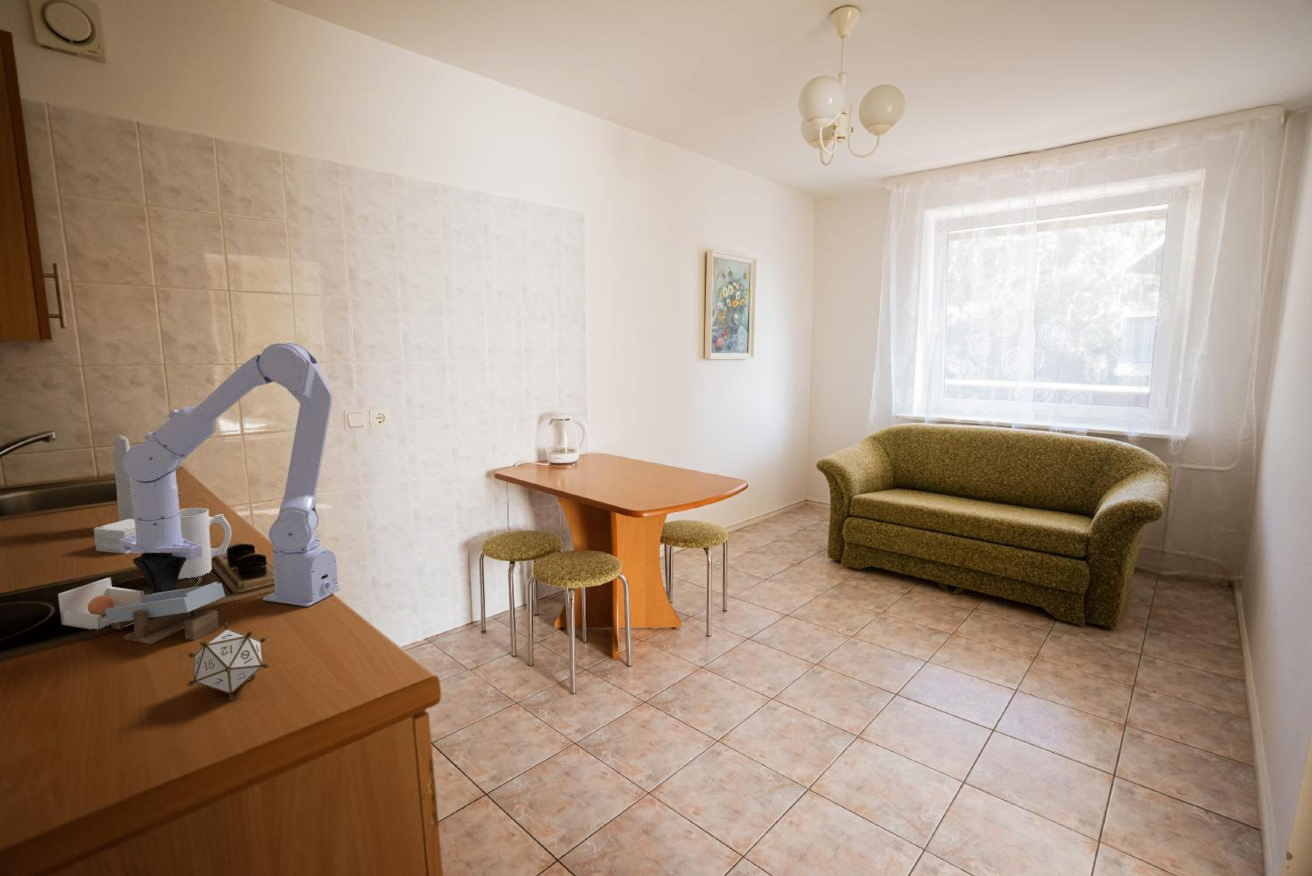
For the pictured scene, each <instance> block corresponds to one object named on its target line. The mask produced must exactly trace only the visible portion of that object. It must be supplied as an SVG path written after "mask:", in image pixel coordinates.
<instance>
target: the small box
mask: <svg viewBox="0 0 1312 876" xmlns="http://www.w3.org/2000/svg"><path fill="white" fill-rule="evenodd" d="M93 532H94V533H93V535H94V542H95V551H96V552H107V553H115V554H125V555H126V554H130V553H131V550H127V551H120V544H119V539H123V538H126V537H130V536H136V530H135V520H134V519H127V520H123V521H115V522H112V523H108V524H105V525H101V526H96V527H94V528H93Z"/></svg>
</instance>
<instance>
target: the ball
mask: <svg viewBox="0 0 1312 876" xmlns="http://www.w3.org/2000/svg"><path fill="white" fill-rule="evenodd" d="M114 606H115V602H114V600H113V599H112V598H111V597H109V596H105V595H102V596H98V597H95V598H94V599H92V600H91V601H90V602H89V604H88V611H89V612H90V613H91V614H96V615H101V616H104V615H106V613H105V610H106V609H109V608H114Z"/></svg>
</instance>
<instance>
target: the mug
mask: <svg viewBox="0 0 1312 876" xmlns="http://www.w3.org/2000/svg"><path fill="white" fill-rule="evenodd" d="M179 511H180V521H181V532H182V538H184V539H186V540H188V541H190V542H193V543H195V544H200V545H201V546H202V556H201V557H198V558H194V559H192V560H188V559H186V561H185V563H184V565H183V567H182V569H181V571H180V574H179V577H178V580H184V579H183V578H189V579H194V577H195V578H199V577H202V576H205V574H206V575H207V573H208V574H210V573H211V572H212V571H211V570H212V569H213V568H212V567H213V565H212V559H213V558H214V557H216V556H222V555H224V554H226V553H227V549H228V547H229V545H230V541H231V540H232V527H231V525H230V523H229V522H228V520H227V519H226V518H225V516H224V514H223V513H220V514H216V515H214V516H212V517H211V516H210V515H209V514H210V513H209V511H210V509H208V508H202V507H193V508H192V507H189V508H181V509H179ZM213 524H219V525H221V527H222V528H223V530H224V538H223V542H222V543H221V545H220V546H219V547H212V546H211V531H210V529H211V528H210V527H211V525H213ZM210 571H211V572H210ZM198 576H199V577H198ZM191 577H193V578H191Z"/></svg>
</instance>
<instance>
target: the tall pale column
mask: <svg viewBox="0 0 1312 876" xmlns="http://www.w3.org/2000/svg"><path fill="white" fill-rule="evenodd" d="M113 437H114V438H113V447H112V459H113V468H114V476H115V477H114V478H115V485H116V497H117V498H116V500H117V510H118V519H119V521H123V520H127V519H134V511H133V500H132V485H131V477H130V476H128V475H127V474H126V473H125V471H124V469H123V466H122V461H123V458H124V456H125V454H126V453H127V452H128V450H129V449H130V448H131V445H130V441H129V439H128V438H127V437H126V436H124V435H121V434H119V435H114V436H113ZM119 521H118V522H119Z"/></svg>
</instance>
